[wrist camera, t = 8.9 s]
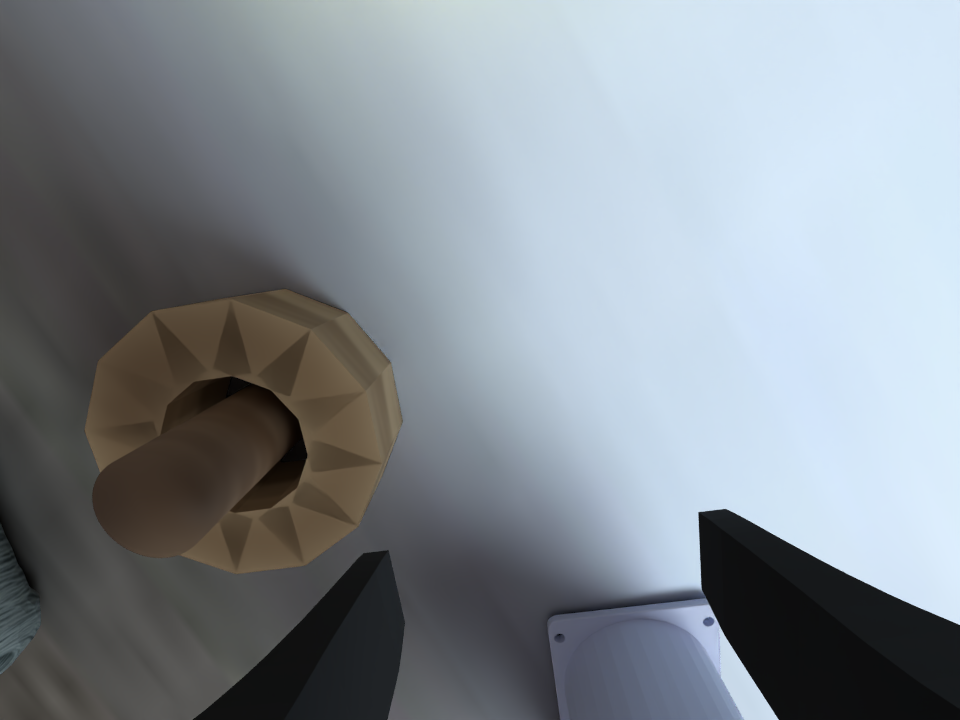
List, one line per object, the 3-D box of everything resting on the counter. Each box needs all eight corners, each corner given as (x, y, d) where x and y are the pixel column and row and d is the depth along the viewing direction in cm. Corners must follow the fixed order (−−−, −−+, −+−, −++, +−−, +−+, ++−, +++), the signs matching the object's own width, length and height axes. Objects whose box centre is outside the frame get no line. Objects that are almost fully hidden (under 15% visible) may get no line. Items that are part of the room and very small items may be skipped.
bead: (417, 496, 20) (401, 554, 17) (207, 523, 21) (143, 585, 17) (373, 275, 18) (341, 281, 14) (137, 311, 19) (45, 327, 15)
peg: (325, 433, 20) (221, 550, 12) (259, 442, 20) (114, 563, 12) (309, 368, 19) (188, 448, 11) (241, 377, 19) (75, 462, 11)
